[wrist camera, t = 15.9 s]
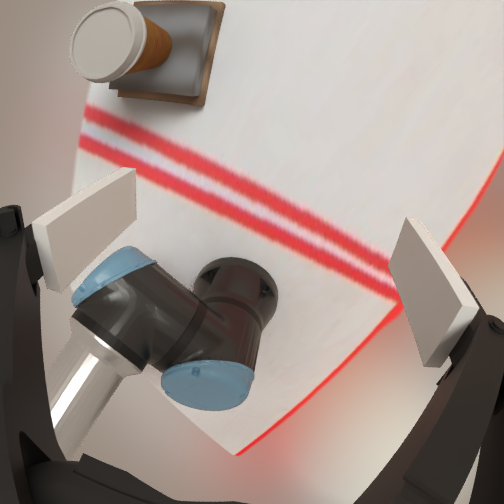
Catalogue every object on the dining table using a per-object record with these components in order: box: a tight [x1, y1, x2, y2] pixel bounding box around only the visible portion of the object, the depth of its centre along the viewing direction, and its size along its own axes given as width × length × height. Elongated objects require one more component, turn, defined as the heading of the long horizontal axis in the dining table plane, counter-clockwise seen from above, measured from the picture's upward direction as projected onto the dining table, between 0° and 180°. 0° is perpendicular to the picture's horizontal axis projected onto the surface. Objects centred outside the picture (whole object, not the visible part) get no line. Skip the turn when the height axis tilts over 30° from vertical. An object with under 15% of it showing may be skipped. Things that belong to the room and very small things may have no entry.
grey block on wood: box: [109, 0, 225, 106], centre depth 35 cm, size 16×14×5 cm
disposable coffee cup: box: [69, 1, 172, 83], centre depth 28 cm, size 10×10×12 cm
